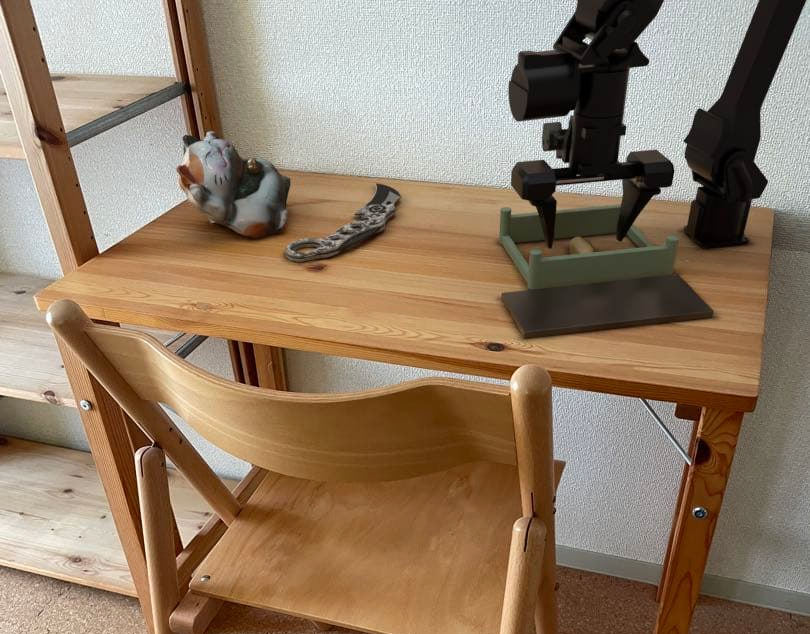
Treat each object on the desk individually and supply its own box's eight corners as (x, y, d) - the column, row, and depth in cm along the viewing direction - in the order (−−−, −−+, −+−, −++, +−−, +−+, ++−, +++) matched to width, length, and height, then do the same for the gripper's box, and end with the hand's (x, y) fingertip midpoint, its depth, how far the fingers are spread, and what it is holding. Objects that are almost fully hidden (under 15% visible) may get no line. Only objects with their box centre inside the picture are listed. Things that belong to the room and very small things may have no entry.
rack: (629, 228, 116) (634, 194, 113) (674, 275, 104) (681, 239, 101) (497, 241, 114) (499, 207, 111) (529, 290, 102) (531, 254, 99)
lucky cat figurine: (282, 242, 115) (218, 157, 105) (214, 269, 121) (147, 190, 111) (302, 173, 123) (244, 88, 113) (237, 201, 129) (176, 122, 119)
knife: (374, 179, 130) (432, 184, 126) (375, 189, 131) (433, 194, 127) (269, 250, 112) (333, 258, 108) (271, 261, 113) (335, 270, 109)
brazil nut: (591, 268, 106) (596, 243, 104) (554, 262, 108) (559, 237, 106) (606, 262, 111) (611, 238, 109) (571, 255, 113) (575, 232, 111)
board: (676, 280, 103) (678, 273, 103) (712, 317, 96) (714, 310, 95) (501, 298, 101) (501, 292, 101) (524, 338, 94) (524, 332, 93)
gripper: (649, 87, 105) (631, 214, 115) (502, 99, 103) (497, 227, 113) (686, 112, 96) (663, 246, 107) (527, 125, 94) (519, 261, 105)
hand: (584, 243), depth 108 cm, fingers open, 9 cm apart
